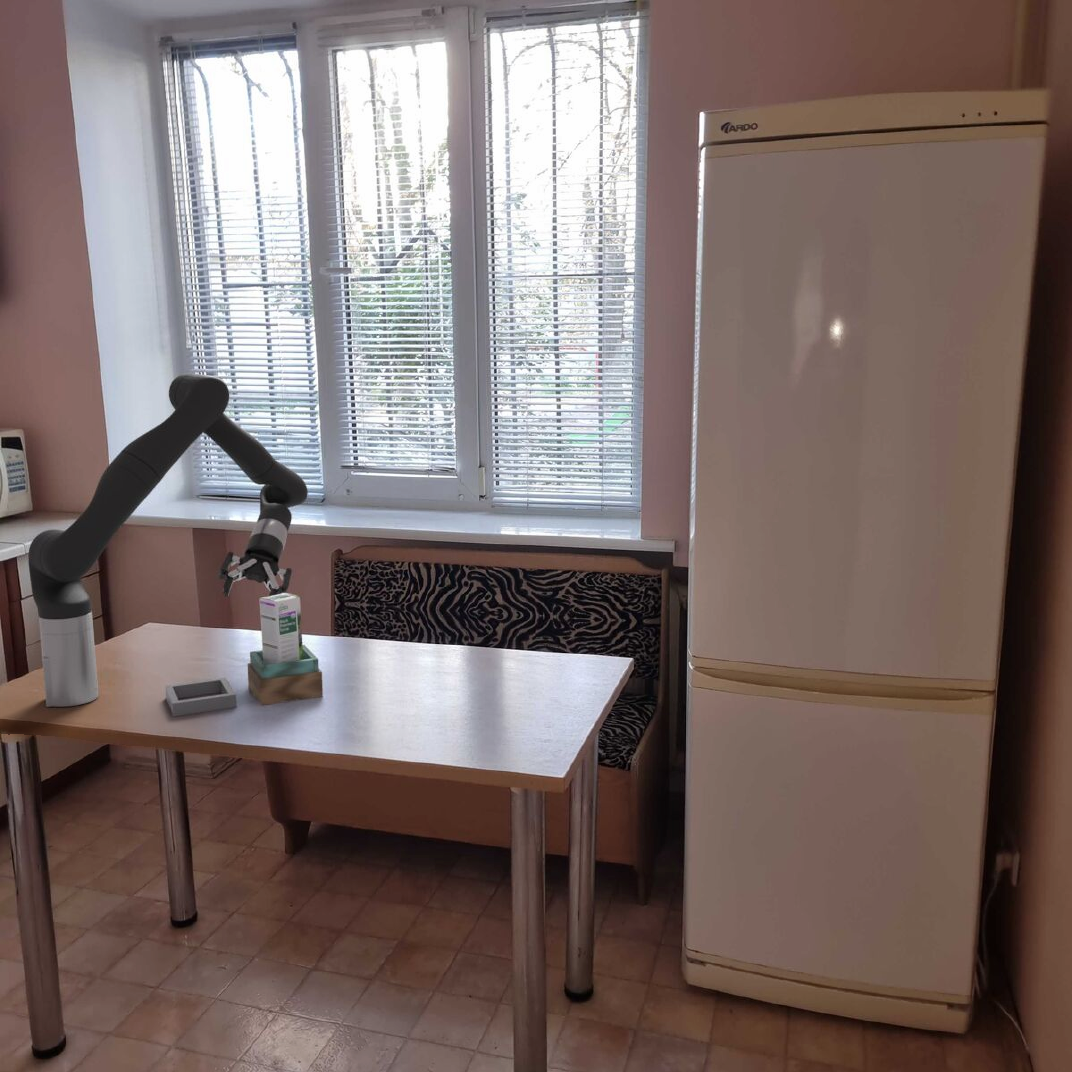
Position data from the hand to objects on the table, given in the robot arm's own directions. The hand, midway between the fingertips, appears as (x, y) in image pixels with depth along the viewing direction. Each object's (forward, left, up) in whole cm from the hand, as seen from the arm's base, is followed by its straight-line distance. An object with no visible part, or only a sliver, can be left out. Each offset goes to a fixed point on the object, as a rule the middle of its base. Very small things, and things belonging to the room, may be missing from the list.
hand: (247, 600), depth 199 cm
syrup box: (+4, -12, -12) cm, 17 cm away
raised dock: (+4, -13, -17) cm, 21 cm away
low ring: (-12, -12, -17) cm, 23 cm away
